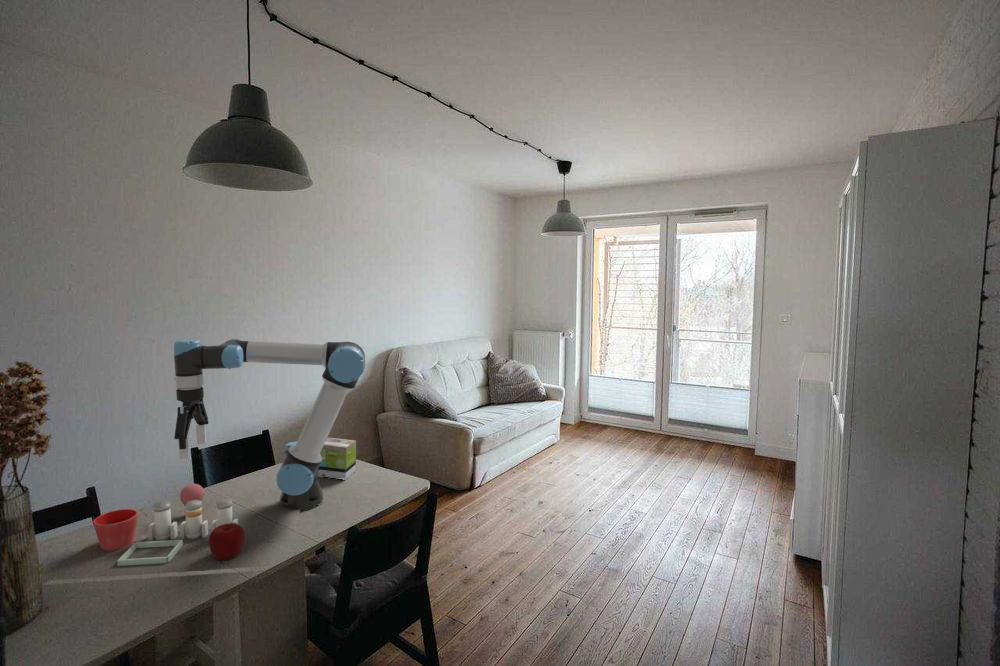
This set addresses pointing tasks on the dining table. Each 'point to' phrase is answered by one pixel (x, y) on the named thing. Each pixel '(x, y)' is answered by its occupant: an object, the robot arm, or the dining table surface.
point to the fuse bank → (182, 533)
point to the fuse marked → (193, 519)
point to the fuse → (162, 520)
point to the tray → (155, 560)
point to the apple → (226, 541)
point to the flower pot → (116, 528)
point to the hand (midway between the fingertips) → (193, 450)
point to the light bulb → (191, 493)
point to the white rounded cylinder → (224, 512)
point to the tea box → (337, 458)
